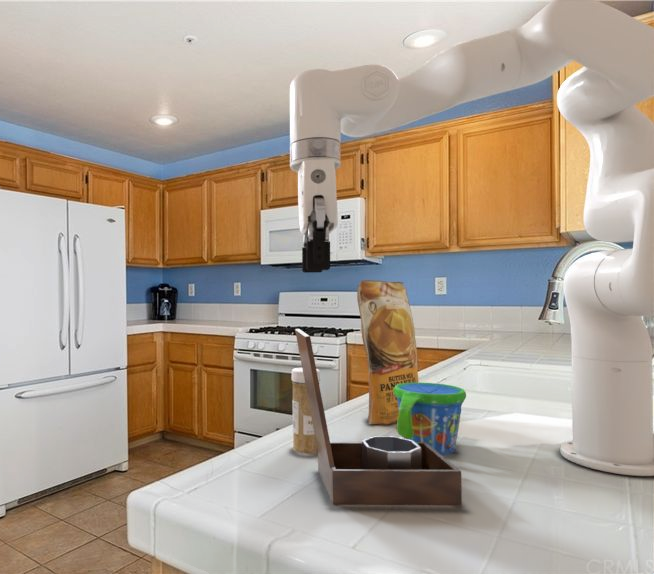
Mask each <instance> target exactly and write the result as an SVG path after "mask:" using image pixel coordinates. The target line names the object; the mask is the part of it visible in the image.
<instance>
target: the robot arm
mask: <svg viewBox="0 0 654 574" xmlns="http://www.w3.org/2000/svg"><path fill="white" fill-rule="evenodd" d="M573 62H576V63H577V64H579V65H581V66H582V67H581V68H579V69H578V70H576V71H575V72H573V73H572V74H571V75H570V76H569V77H567V78H566V79H565V81H564V82H563V83H562V84H560V85H561V86H560V87H559V89H558V91H557V93H556V94H557V95H556V105H557V109H558V111H559V112H560V114H561V116H562V117H563V118H564V119H565V120H566V121H567V122H568V123H569V124H571V125H572V126H573V127H574V128H575V129H576V130H578V132H579V133H580V134H581V135H582V136H583V138H584V139H585V141H586V142H587V145H588V149H589V170H588V177H587V184H586V191H585V199H584V207H583V216H582V217H583V220H582V221H583V226H584V227H583V228H584V229H585V231H586V232H587V235H589V236H590V237H591V238H593V239H595V240H596V241H600V242H605V243H624V242H625V243H626V242H633V243H632V248H621V249H610V250H602V251H596V252H591V253H589V254H585V255H583V256H581V257H579V258H577V259H576V260H575V261H573V262H572V263H571V264H570V265H569V266H568V268H567V270H566V271H565V274H564V277H563V280H562V281H563V283H562V290H563V297H564V300H565V305H566V308H567V313H568V319H569V325H570V326H569V327H570V344H571V345H570V346H571V417H572V418H571V420H572V421H571V422H572V424H571V425H572V427H571V429H572V430H571V431H572V441H568V442H563V443H562V444H561V445H560V455H561V456H562V457H564V458H565V459H566V460H568V461H570V462H572V463H574V464H577V465H579V466H582V467H585V468H589V469H593V470H596V471H601V472H606V473H609V474H610V473H611V474H616V475H617V474H618V475H623V476H635V477H654V402H653V401H654V397H653V389H654V388H653V344H652V340H651V336H650V333H649V330H648V328H647V326H646V324H645V322H644V319H643V317H647V318H654V122H653V121H652V120H651V119H650V118H649V116H647V115H645V113H643V112H642V111H641V110H640V109H639V108H638V107H637V106H636V105H637V104H640V103H642V102H645V101H648V100H650V99H652V98H653V97H654V27H653V26H651V25H649V24H647V23H645V22H644V21H641V20H639V19H637V18H635V17H633V16H631V15H629V14H627V13H625V12H624V11H621V10H619V9H617V8H615V7H613V6H611V5H608V4H606V3H604V2H602V1H598V0H551V1H550V2H549V3H547V4H546V5H545V6H544V7H542V8H541V9H540V11H537V13H536V14H534V16H532V17H531V19H529V20H528V21H527V22H526V23H524V24H523V25H520V26H518V27H515V28H512V29H508V30H504V31H501V32H497V33H494V34H491V35H485V36H483V37H479V38H474V39H470V40H467V41H463V42H458V43H455V44H453V45H451V46H448V47H447V48H445V49H443V50H441V51H440V52H438V53H436V54H435V55H434V56H432V57H431V58H429V59H428V60H427V61H425V62H424V63H423V64H421V65H420V66H418V67H417V68H416V69H414V70H412V71H411V72H409V73H407V74H405V75H403V76H401V77H399V78H398V76H397V75H396V73H395V72H394V71H393V70H392V69H390V67H387V66H385V65H382V64H363V65H358V66H353V67H349V68H343V69H338V70H329V69H325V68H324V69H323V68H315V69H308V70H304V71H302V72H300V73H298V74H297V75H295V76H294V78H293V79H292V80H291V83H290V86H289V169H290V170H291V171H293V172H296V173H297V205H298V207H297V208H298V222H299V232H300V233H301V234H302V235H303V242H302V243H303V245H302V246H303V247H301V252H302V253H301V271H302V272H303V273H322V272H323V271H329V270H330V269H331V241H330V234H331V233H332V232H333V231H335V230H336V229H337V228H338V222H339V221H338V220H339V219H338V199H337V194H338V193H337V175H336V170H337V169H340V168H341V166H342V164H341V163H342V162H341V156H342V155H341V149H342V147H341V141H342V138H341V137H342V135H341V134H343V135H345V136H347V137H351V138H361V137H366V136H371V135H375V134H378V133H379V134H380V133H383V132H386V131H390V130H395V129H397V128H399V127H403V126H405V125H408V124H412V123H414V122H417V121H420V120H422V119H424V118H427V117H430V116H433V115H436V114H439V113H442V112H444V111H448V110H450V109H451V108H454V107H456V106H459V105H463V104H466V103H470V102H472V101H477V100H479V99H484V98H487V97H491V96H494V95H498V94H502V93H507V92H510V91H514V90H517V89H521V88H525V87H528V86H532V85H535V84H538V83H541V82H543V81H545V80H547V79H549V78H550V77H552V76H553V75H555V74H557V73H558V72H559V71H560V70H562V69H564V68H565V67H568V66H569V65H570V64H571V63H573Z"/></svg>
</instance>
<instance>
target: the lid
mask: <svg viewBox="0 0 654 574" xmlns="http://www.w3.org/2000/svg"><path fill="white" fill-rule="evenodd" d="M294 330H295V337H296V342H297V347H298V353H299V358H300V363H301V368H302V369H303V375H304V380H305V385H306V391H307V396H308V401H309V407H310V412H311V417H312V423H313V428H314V433H315V438H316V441H317V443H318V445H319V447H320V449H321V451H322V453H323V455H324V457H325V459H326V461H327V463H328V465H329V467H330V468H334V467H335V466H334V461H333V455H332V450H331V445H330V442H331V440H330V435H329V434H330V433H329V430H328V429H329V428H328V424H327V419H326V413H325V407H324V403H323V398H322V397H323V396H322V392H321V387H320V381H318V376H317V370H316V369H317V365H316V360H315V353H314V350H313V345H312V339H311V336H310V335H309V334H308V333H306V332H304V331H303V330H302V329H300V328H295V329H294Z"/></svg>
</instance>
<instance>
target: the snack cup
mask: <svg viewBox="0 0 654 574" xmlns="http://www.w3.org/2000/svg"><path fill="white" fill-rule="evenodd" d="M394 394H395V396H396V398H397V400H398V404H399V416H398V422H396V432H397V435H399V437H401V438H404V439H409V440H413V441H414V442H426V443H427V444H429V445H430V446H431V447H432V448H434V449H435V450H436V451H437V452H438V453H440V454H441V455H442V456H444V455H445V456H446V455H449V454H453V453H454V452H455V450H456V448H457V439H458V435H459V429H460V423H461V414H462V406H463V403H464V402H465V400H466V397H467V392H466V390H464V388H462V387H458V386H455V385H451V384H444V383H435V382H418V383H401V384H397V385H396V386H395V387H394Z"/></svg>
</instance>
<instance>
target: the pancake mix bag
mask: <svg viewBox="0 0 654 574" xmlns="http://www.w3.org/2000/svg"><path fill="white" fill-rule="evenodd" d="M407 292H408V291H407V287H406V286H404V282H402V281H387V280H386V281H385V280H375V279H374V280H373V279H365V280H360V281H359V283H358V285H357V293H356V297H357V298H356V299H357V305H358V311H359V316H360V317H359V318H360V322H361V323H360V326H361V327H360V329H361V338H362V343H363V348H364V351H365V356H366V360H367V361H366V362H367V380H368V381H367V383H368V415H367V423H368V424H369V425H390V424H391V425H392V424H395V423H397V422H398V416H399V404H398V400H397V398H396V396H395V394H394V387H395V386H396V385H397V384H401V383H419V372H418V352H417V341H416V332H415V323H414V319H413V314H412V310H411V305H410V300H409V297H408V293H407Z"/></svg>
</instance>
